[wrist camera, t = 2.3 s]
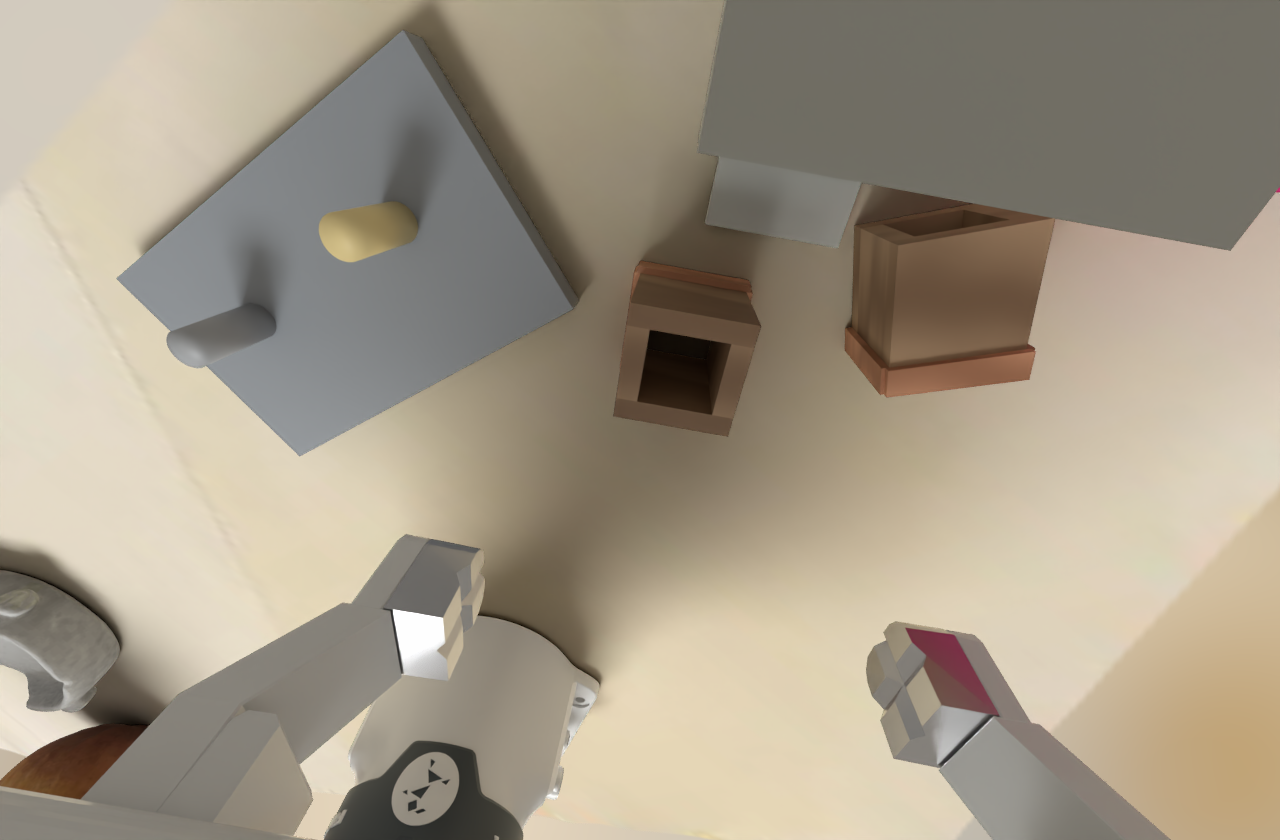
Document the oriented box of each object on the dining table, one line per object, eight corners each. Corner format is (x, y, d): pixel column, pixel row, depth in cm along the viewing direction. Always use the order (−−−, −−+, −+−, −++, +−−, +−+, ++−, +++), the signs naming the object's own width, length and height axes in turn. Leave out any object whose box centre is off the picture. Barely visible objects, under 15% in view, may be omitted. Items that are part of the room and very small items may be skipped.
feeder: (860, 250, 22) (1116, 399, 9) (676, 216, 21) (666, 317, 9) (992, -95, 16) (2269, -1099, 3) (742, -142, 16) (990, -1370, 3)
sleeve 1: (722, 383, 25) (733, 443, 20) (621, 365, 25) (605, 420, 20) (751, 280, 23) (771, 319, 17) (637, 260, 23) (623, 293, 17)
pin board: (579, 300, 24) (553, 338, 19) (316, 442, 30) (246, 498, 25) (422, 38, 19) (334, 1, 14) (145, 271, 25) (19, 300, 20)
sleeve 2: (964, 333, 23) (1033, 378, 19) (844, 350, 24) (882, 397, 19) (983, 201, 20) (1071, 217, 16) (847, 226, 21) (892, 248, 17)
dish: (144, 675, 47) (89, 728, 42) (-4, 638, 46) (-76, 689, 41) (106, 582, 39) (35, 635, 35) (-72, 536, 38) (-168, 585, 34)
